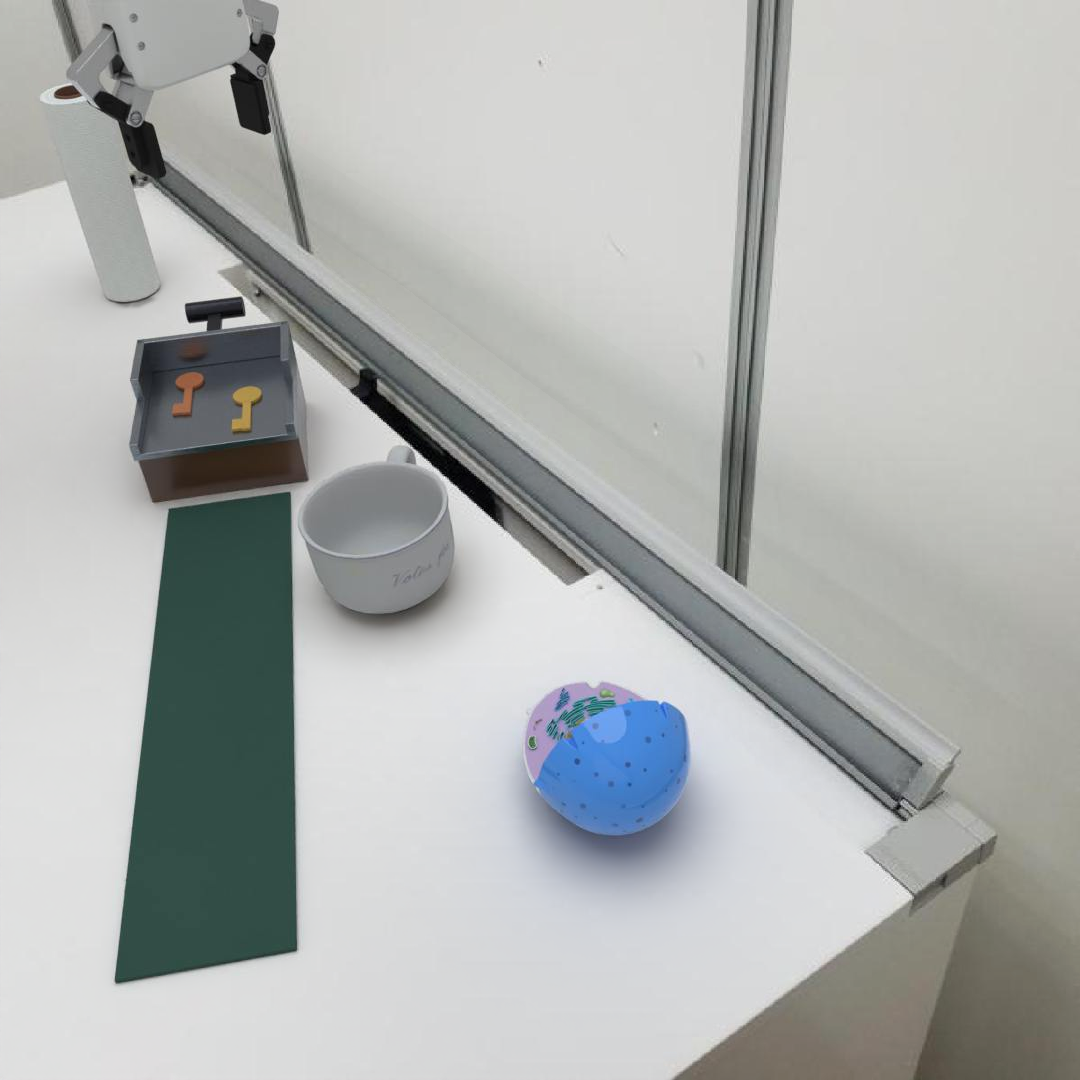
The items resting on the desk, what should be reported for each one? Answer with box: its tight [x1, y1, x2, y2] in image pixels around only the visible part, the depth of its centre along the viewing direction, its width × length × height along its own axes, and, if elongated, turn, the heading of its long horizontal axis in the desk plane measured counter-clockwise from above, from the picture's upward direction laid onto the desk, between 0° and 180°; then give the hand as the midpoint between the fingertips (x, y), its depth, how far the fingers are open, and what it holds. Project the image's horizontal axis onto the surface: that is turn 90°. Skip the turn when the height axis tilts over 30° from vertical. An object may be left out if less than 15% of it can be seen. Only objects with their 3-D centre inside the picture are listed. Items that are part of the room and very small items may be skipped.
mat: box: [114, 491, 298, 984], centre depth 80 cm, size 42×10×1 cm, turn 10°
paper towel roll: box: [38, 82, 161, 303], centre depth 118 cm, size 7×6×21 cm
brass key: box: [232, 386, 262, 432], centre depth 96 cm, size 6×2×1 cm, turn 10°
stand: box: [137, 359, 309, 503], centre depth 100 cm, size 12×13×5 cm
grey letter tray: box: [128, 295, 297, 462], centre depth 98 cm, size 18×13×4 cm
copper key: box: [172, 372, 204, 416], centre depth 98 cm, size 6×2×1 cm, turn 10°
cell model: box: [521, 680, 692, 837], centre depth 69 cm, size 10×12×10 cm
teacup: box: [297, 444, 455, 615], centre depth 86 cm, size 14×11×8 cm
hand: (205, 151), depth 87 cm, fingers open, 9 cm apart
